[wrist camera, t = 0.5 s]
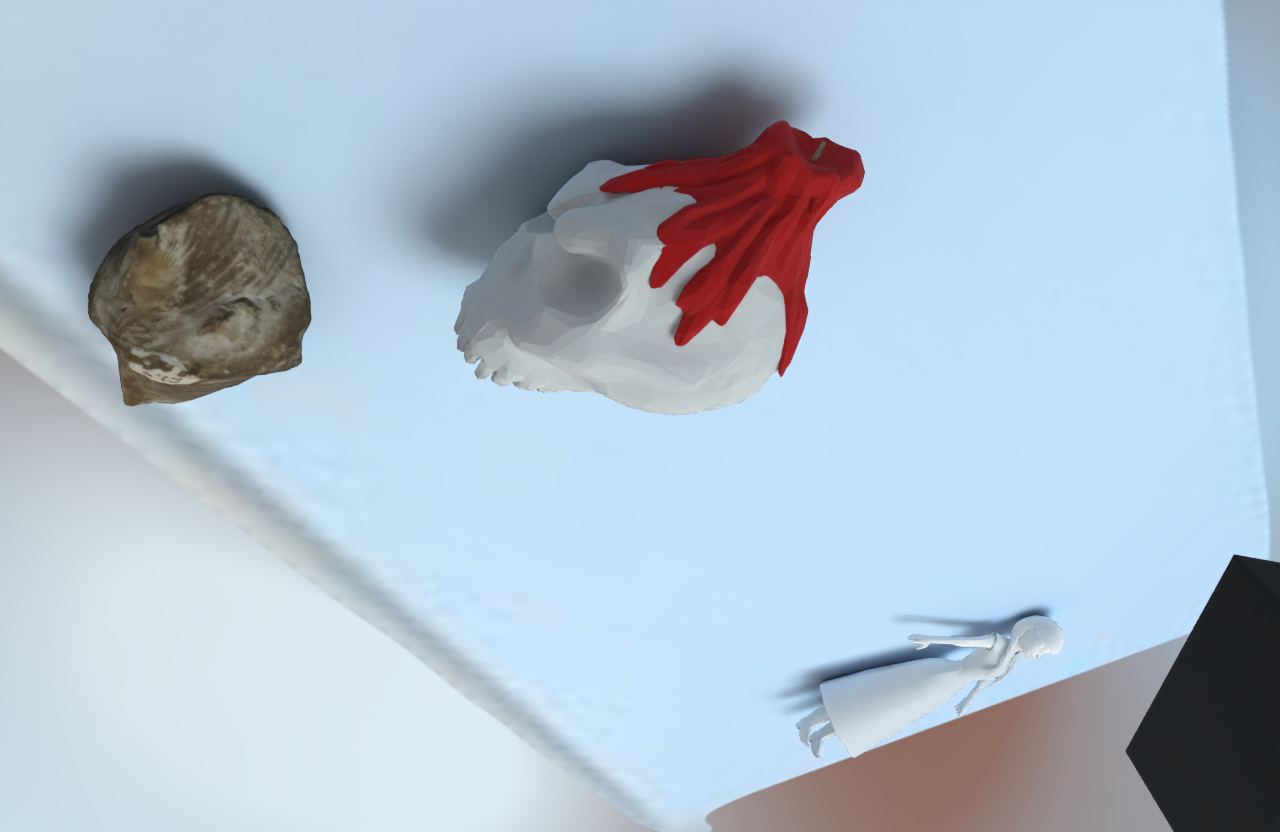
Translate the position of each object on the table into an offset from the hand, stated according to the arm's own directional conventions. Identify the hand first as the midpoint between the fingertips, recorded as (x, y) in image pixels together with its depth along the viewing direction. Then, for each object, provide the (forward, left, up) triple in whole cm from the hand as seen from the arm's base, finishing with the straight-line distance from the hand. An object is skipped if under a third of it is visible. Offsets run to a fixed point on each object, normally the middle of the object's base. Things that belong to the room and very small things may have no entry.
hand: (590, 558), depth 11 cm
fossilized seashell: (+6, -23, -30) cm, 39 cm away
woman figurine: (+57, -19, -30) cm, 67 cm away
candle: (+17, -8, -30) cm, 36 cm away
